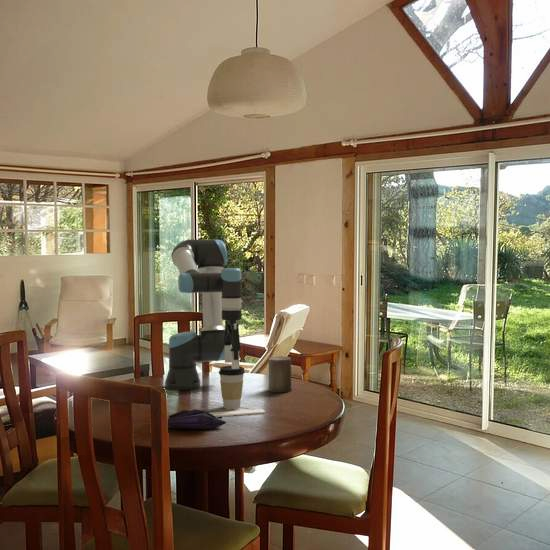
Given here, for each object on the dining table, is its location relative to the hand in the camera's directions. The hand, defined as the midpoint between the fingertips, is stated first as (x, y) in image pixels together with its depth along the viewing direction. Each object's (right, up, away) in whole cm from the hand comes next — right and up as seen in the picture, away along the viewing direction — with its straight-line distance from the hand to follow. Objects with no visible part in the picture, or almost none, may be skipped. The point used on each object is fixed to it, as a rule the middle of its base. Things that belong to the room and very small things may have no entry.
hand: (231, 365), depth 233 cm
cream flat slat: (+1, -16, -9) cm, 19 cm away
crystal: (-10, -18, -26) cm, 33 cm away
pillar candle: (+18, -15, +29) cm, 37 cm away
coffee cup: (0, -16, +1) cm, 16 cm away
